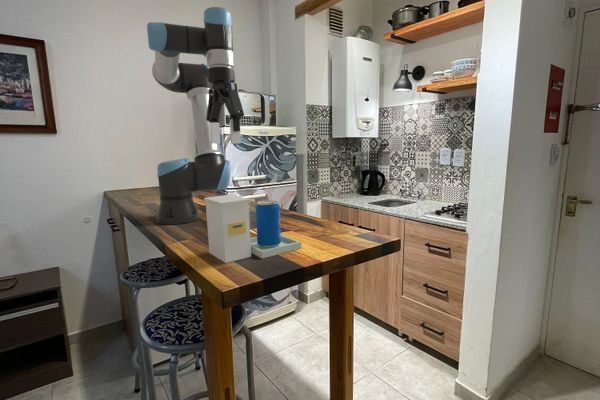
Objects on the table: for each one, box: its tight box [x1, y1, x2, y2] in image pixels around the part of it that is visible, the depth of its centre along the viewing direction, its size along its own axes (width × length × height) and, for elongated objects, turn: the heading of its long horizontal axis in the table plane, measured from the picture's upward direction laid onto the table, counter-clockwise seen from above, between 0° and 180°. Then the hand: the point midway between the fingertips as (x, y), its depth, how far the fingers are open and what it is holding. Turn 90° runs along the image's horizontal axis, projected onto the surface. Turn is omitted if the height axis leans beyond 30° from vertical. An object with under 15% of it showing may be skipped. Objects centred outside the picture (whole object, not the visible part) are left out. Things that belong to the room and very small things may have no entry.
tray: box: [250, 234, 302, 260], centre depth 90 cm, size 12×12×2 cm
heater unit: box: [203, 194, 252, 264], centre depth 84 cm, size 11×8×15 cm
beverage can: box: [255, 200, 282, 248], centre depth 89 cm, size 6×6×12 cm
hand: (225, 143), depth 97 cm, fingers open, 13 cm apart
